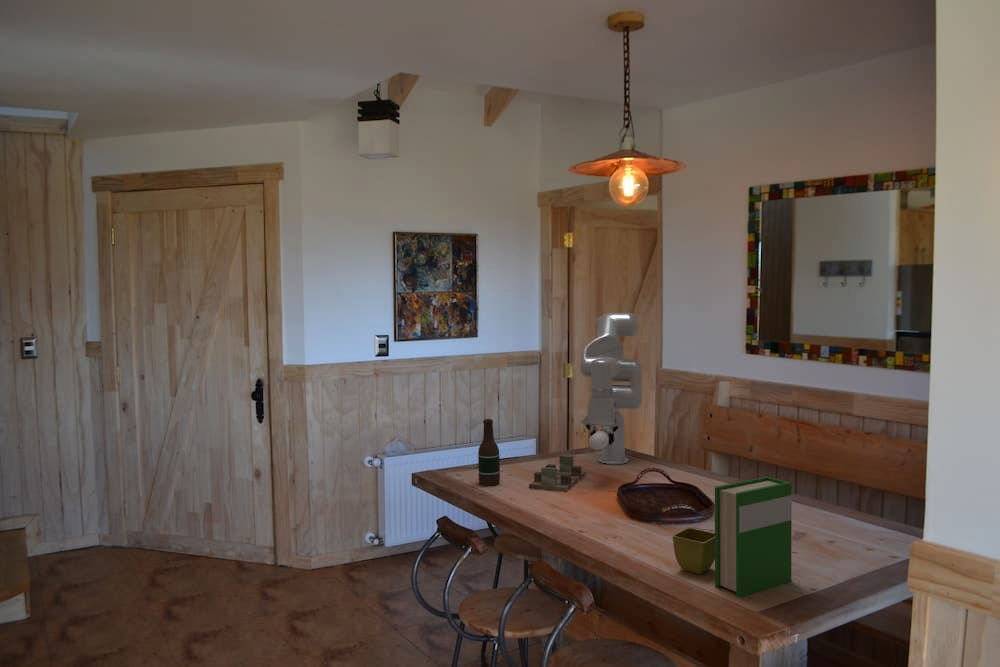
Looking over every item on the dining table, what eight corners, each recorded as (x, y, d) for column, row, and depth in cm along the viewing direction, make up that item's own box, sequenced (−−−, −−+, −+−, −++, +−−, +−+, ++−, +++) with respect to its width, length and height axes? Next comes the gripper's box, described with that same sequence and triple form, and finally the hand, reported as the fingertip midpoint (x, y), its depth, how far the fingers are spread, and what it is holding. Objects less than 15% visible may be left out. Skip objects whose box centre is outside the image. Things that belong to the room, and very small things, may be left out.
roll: (600, 441, 283) (600, 426, 283) (615, 441, 281) (614, 426, 281) (589, 449, 268) (588, 434, 268) (604, 450, 266) (604, 434, 266)
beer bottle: (499, 486, 275) (498, 421, 274) (478, 487, 276) (476, 421, 274) (500, 481, 283) (498, 417, 282) (479, 481, 283) (478, 417, 282)
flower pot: (720, 569, 191) (720, 533, 190) (704, 579, 184) (704, 542, 184) (688, 561, 197) (688, 527, 196) (671, 570, 190) (671, 535, 190)
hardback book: (739, 597, 173) (739, 493, 172) (715, 587, 179) (714, 486, 178) (791, 581, 182) (791, 482, 181) (766, 572, 188) (766, 476, 187)
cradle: (551, 472, 295) (550, 453, 295) (585, 475, 290) (585, 456, 289) (528, 488, 272) (528, 468, 272) (566, 491, 267) (565, 470, 266)
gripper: (627, 393, 274) (628, 442, 275) (581, 391, 280) (582, 440, 281) (623, 395, 267) (623, 446, 268) (575, 394, 273) (576, 444, 274)
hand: (602, 442), depth 275 cm, fingers closed on roll, 5 cm apart
